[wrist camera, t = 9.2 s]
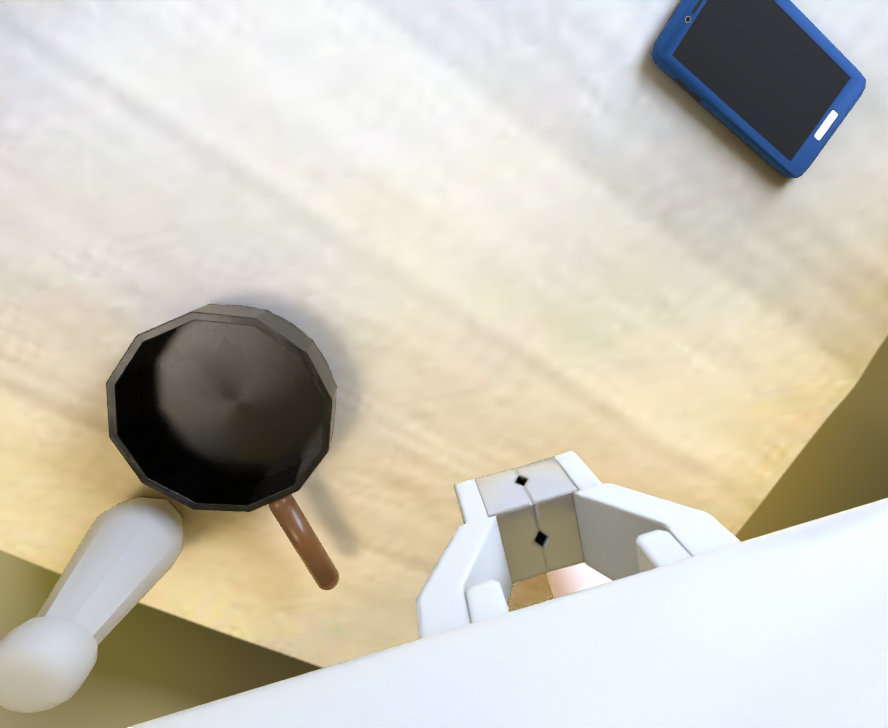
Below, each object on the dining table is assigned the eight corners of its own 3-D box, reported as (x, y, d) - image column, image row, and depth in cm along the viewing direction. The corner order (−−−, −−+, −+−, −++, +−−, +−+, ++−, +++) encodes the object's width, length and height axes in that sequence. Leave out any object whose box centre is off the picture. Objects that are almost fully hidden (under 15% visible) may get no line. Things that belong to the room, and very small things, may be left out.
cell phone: (790, 183, 33) (799, 182, 32) (644, 56, 29) (651, 52, 29) (861, 85, 32) (872, 82, 31) (717, -60, 28) (726, -67, 27)
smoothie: (604, 567, 40) (714, 733, 27) (534, 590, 40) (610, 771, 27) (590, 505, 38) (701, 653, 25) (516, 530, 38) (589, 692, 25)
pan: (96, 352, 30) (59, 368, 27) (281, 273, 30) (268, 278, 27) (260, 593, 37) (247, 630, 33) (411, 527, 37) (415, 557, 33)
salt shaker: (118, 559, 34) (-28, 745, 22) (98, 491, 33) (-72, 649, 20) (202, 549, 35) (105, 724, 23) (186, 481, 33) (72, 630, 21)
